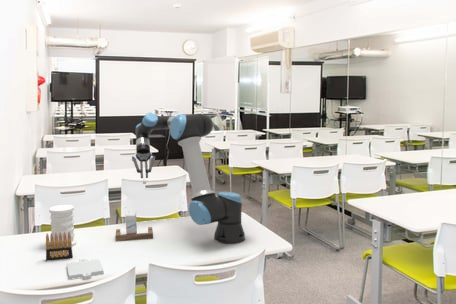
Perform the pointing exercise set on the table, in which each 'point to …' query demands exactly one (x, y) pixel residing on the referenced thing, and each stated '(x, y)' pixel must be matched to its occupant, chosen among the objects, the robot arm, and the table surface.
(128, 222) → the ink box
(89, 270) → the mounting plate
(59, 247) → the ammunition clip
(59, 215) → the decorative container
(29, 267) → the table surface
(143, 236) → the walnut bay
